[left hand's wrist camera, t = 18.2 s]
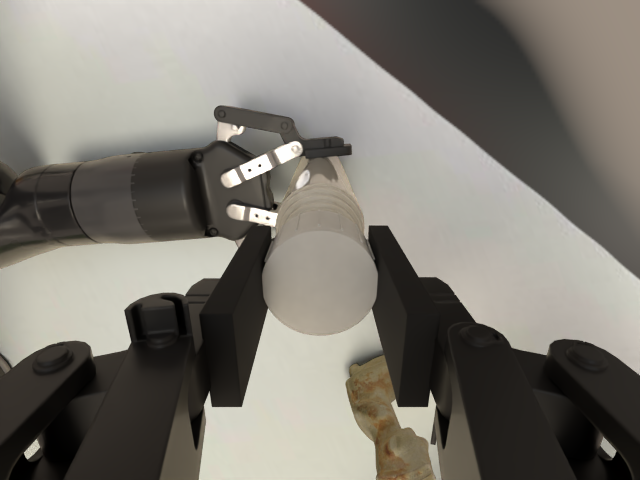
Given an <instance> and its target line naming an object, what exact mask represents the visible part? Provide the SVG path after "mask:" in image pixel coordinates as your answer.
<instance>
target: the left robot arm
mask: <svg viewBox="0 0 640 480" xmlns="http://www.w3.org/2000/svg"><path fill="white" fill-rule="evenodd" d="M271 242H272V239H271V226H252V227H251V228H250V230H249V232H248V233H247V235H246V237H245V238H244V240H243V242H242V243H241V245H240V247H239V248H238V250H237V252H236V253H235V255H234V257H233V258H232V260H231V262H230V263H229V265H228V267H227V268H226V270H225V272H224V273H223V275H222V277H221V278H220V279H202V280H201V281H199V282H197V283H196V284H194V285H193V286H192V287H191V288H190V289H189V291H188V292H187V293H186V296H183V295H181V294H177V293H159V294H154V295H150V296H147V297H144V298H141V299H139V300H137V301H135V302H133V303H132V304H130V305H129V306H128V307H127V308H126V309H125V310H124V311H125V316H126V320H127V325H128V329H129V333H130V338H131V344H130V346H129V348H128V350H125V351H121V352H116V353H111V354H106V355H101V356H96V357H93V354H92V351H91V347H90V346H89V345H88V344H87V343H85V342H80V341H68V342H60V343H57V344H52V345H49V346H47V347H45V348H43V349H41V350H38V351H36V352H34V353H33V354H31V355H30V356H28V357H26V358H25V359H23V360H22V361H21V362H20V363H18V364H17V365H16V366H15V367H13V368H12V369H11V370H9V371H8V372H7V373H6V374H4V375H3V376H2V377H1V378H0V480H199V472H200V464H201V456H202V448H203V440H204V432H205V425H206V418H205V410H204V403H205V401H206V398H207V396H208V393H209V391H210V396H211V404H212V407H242V404H243V400H244V396H245V393H246V389H247V385H248V381H249V378H250V374H251V370H252V366H253V363H254V359H255V355H256V351H257V347H258V344H259V340H260V336H261V332H262V329H263V325H264V321H265V317H266V314H267V310H268V306H267V304H266V302H265V300H264V297H263V284H262V272H263V268H264V266H265V263H266V262H264V260H265V258H266V255H267V252H268V250H269V247H270V244H271ZM368 242H369V244H370V247H371V249H372V252H373V255H374V257H375V260H374V262H375V265H376V268H377V272H378V281H377V296H376V300H375V303H374V305H373V307H372V311H373V314H374V318H375V322H376V326H377V329H378V333H379V337H380V341H381V345H382V348H383V352H384V356H385V360H386V363H387V367H388V371H389V375H390V378H391V382H392V386H393V390H394V394H395V397H396V401H397V405H398V407H428V402H429V395H430V390H431V392H432V395H433V397H434V400H435V402H436V410H435V417H434V424H433V430H432V437H431V444H433V445H435V444H436V440H437V447H438V455H439V463H440V471H441V479H442V480H640V375H638V374H637V373H636V372H634V371H633V370H632V369H631V368H629V367H628V366H627V365H626V364H624V363H623V362H622V361H620V360H619V359H618V358H617V357H615V356H613V355H612V354H610V353H609V352H607V351H606V350H604V349H601V348H599V347H597V346H595V345H593V344H591V343H587V342H583V341H579V340H569V339H562V340H556V341H554V342H553V343H552V344H550V346H549V350H548V353H547V355H542V354H537V353H532V352H527V351H522V350H518V349H514V348H511V346H510V344H509V342H508V340H507V339H506V338H505V337H504V335H502V334H501V333H499V332H498V331H496V330H495V329H493V328H491V327H488V326H486V325H483V324H478V323H476V322H475V320H474V319H473V318H472V316H471V315H470V314H469V312H468V311H467V310H466V308H465V307H464V306H463V304H462V303H461V302H460V300H459V299H458V298H457V296H456V295H454V292H453V291H452V289H451V288H450V287H449V285H448V284H446V283H444V282H443V281H441V280H440V279H438V278H436V277H418V275H417V274H416V272H415V270H414V269H413V267H412V265H411V264H410V262H409V260H408V259H407V257H406V255H405V254H404V252H403V250H402V249H401V247H400V245H399V244H398V242H397V240H396V239H395V237H394V235H393V234H392V232H391V230H390V229H389V227H388V226H369V235H368ZM603 436H604V437H605V439H606V440H607V441H608V442H609V443H610V444H611V445H612V446H613V447H614V448H615V449H616V450H617V452H616V454H615V456H614V458H611V457H610V456H609V455H608V454H607V453H606V452H605V451H604V450H603V449H602V448H601V446H600V444H601V442H602V439H603ZM36 439H37V440H38V443H39V445H40V448H39V449H38V451H37V452H36V453H35V454H34V455H33V456H31V457H30V458H29V459H28V460H27V459H26V457H25V455H24V452H25V451H26V450H27V449H28V447H29V446H30V445H31V444H32V443H33V442H34V441H35V440H36Z"/></svg>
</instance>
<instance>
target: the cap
mask: <svg viewBox="0 0 640 480" xmlns="http://www.w3.org/2000/svg"><path fill="white" fill-rule="evenodd" d="M374 260H375V257H374V255H373V252H372V249H371V247H370V244H369V242H368V239H367V240H366V238H365V236H364V235H363V233H362V231H361V230H360V229H359V227H358V225H357V224H355V223H353V222H352V221H351V220H349V219H348V218H346V217H344V216H343V215H341V214H340V213H334V212H330V211H320V210H318V211H310V212H306V213H302V214H298V215H297V216H296V217H294V218H292V219H291V220H289V221H288V222H287V223H285V224H284V225H282V226H281V228H280V230H279V231H278V233H277V235H276V236H275V238H274V241H272V242H271V244H270V247H269V250H268V252H267V255H266V258H265V260H264V262H266V263H265V266H264V268H263V272H262V284H263V297H264V300H265V302H266V304H267V306H268V308H269V310H270V311H271V312H272V314H273V315H274V316H275V317H276V318H277V319H278V320H279V321H280V322H281V323H283V324H284V325H286V326H287V327H289V328H291V329H293V330H295V331H298V332H301V333H304V334H309V335H317V336H319V335H332V334H336V333H340V332H342V331H345V330H347V329H349V328H351V327H353V326H354V325H356V324H357V323H359V322H360V321H361V320H362V319H363V318H364V317H365V316H366V315H367V314H368V313H369V311H370V310H371V308H372V307H373V305H374V303H375V300H376V296H377V281H378V272H377V268H376V265H375V262H374Z"/></svg>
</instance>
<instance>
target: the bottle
mask: <svg viewBox="0 0 640 480" xmlns="http://www.w3.org/2000/svg"><path fill="white" fill-rule="evenodd" d="M318 210H320V211H330V212H334V213H340V214H341V215H343V216H344V217H346V218H348V219H349V220H351V221H352V222H353V223H355V224H357V225H358V227H359V229H360V230H361V231H362V233H363V235H364V217H363V214H362V211H361V209H360V206H359V204H358V201H357V199H356V197H355V194H354V192H353V190H352V187H351V185H350V183H349V180H348V178H347V176H346V173H345V171H344V169H343V166H342V164H341V162H340V160H339V158H338V157H337V156H334V157H323V158H311V159H306V158H305V156H303V157H302V158H301V159H300V161H299V164H298V166H297V168H296V171H295V173H294V175H293V178H292V180H291V182H290V185H289V187H288V190H287V192H286V194H285V197H284V199H283V201H282V204H281V206H280V208H279V211H278V214H277V218H276V235H277V233H278V231H279V230H280V228H281V226H282V225H284V224H285V223H287V222H288V221H289V220H291V219H292V218H294V217H296V216H297V215H298V214H302V213H306V212H310V211H318Z"/></svg>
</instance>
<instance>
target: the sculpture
mask: <svg viewBox="0 0 640 480" xmlns="http://www.w3.org/2000/svg"><path fill="white" fill-rule="evenodd" d="M349 373H350V378H349V379H348V380H347V381H346V388H347V394H348V398H349V401H350V405H351V408H352V411H353V414H354V417H355V420H356V422H357V424H358V426H359V427H360V429H361V430H362V431H363V432H364V433H365V435H366V436H367V437H368V438H369V439H371V440H372V441H373V442H374V444H375V449H376V469H377V476H376V480H436V477H435V475H434V473H433V471H432V466H431V461H430V458H429V454H428V441H427V440H426V439H424V438H422V437H419V436H416V434H415V432H414V431H413V430H412V429H411V428H404V429H401V427H400V425H399V422H398V420H397V417H396V415H395V412H394V410H393V407H392V405H391V402H392V401H394V400H395V399H396V397H395V394H394V390H393V386H392V382H391V378H390V375H389V371H388V367H387V363H386V360H385V356H384V355H382V356H379V357H377V358H374V359H372V360H370V361H369V362H367V363H365V364H363V365H361V366H359V365H358V364H353V365H352V366H351V367H350V369H349Z"/></svg>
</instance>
